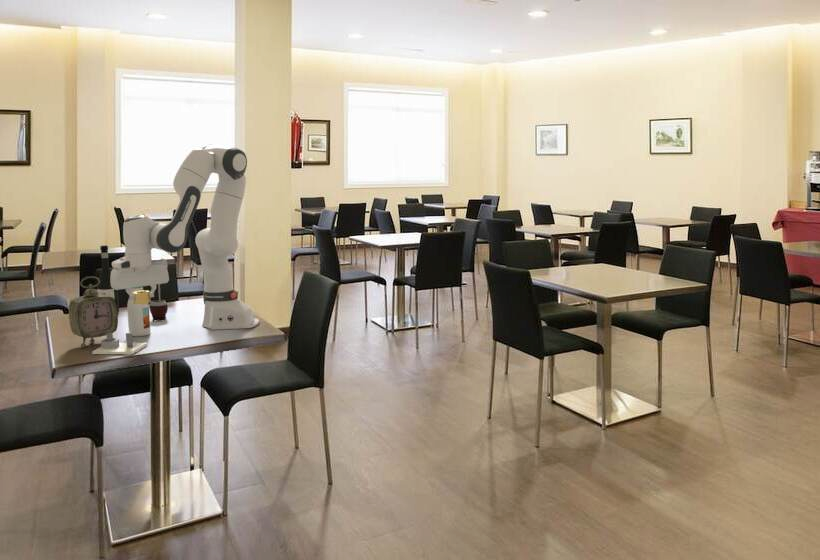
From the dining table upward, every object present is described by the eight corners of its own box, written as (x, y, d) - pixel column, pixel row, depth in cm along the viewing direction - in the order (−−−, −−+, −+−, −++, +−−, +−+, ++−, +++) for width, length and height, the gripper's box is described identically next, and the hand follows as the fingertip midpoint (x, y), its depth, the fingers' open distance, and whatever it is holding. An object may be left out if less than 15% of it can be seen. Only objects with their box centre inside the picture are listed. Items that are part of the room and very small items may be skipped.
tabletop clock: (80, 350, 247) (74, 280, 243) (69, 345, 253) (63, 277, 249) (120, 342, 258) (114, 275, 254) (108, 338, 264) (103, 272, 260)
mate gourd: (156, 322, 290) (154, 286, 287) (146, 319, 294) (143, 284, 292) (172, 319, 296) (170, 284, 293) (161, 316, 300) (159, 282, 298)
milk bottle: (137, 337, 264) (134, 285, 261) (124, 335, 268) (120, 283, 265) (155, 333, 270) (151, 282, 267) (142, 331, 275) (138, 280, 271)
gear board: (147, 346, 252) (145, 329, 251) (132, 355, 240) (131, 337, 239) (109, 345, 253) (107, 329, 252) (92, 354, 241) (91, 337, 240)
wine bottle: (114, 315, 303) (109, 246, 298) (96, 315, 303) (90, 246, 298) (122, 311, 311) (117, 244, 306) (104, 311, 311) (99, 244, 306)
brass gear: (146, 300, 259) (146, 290, 258) (152, 302, 255) (151, 291, 254) (132, 302, 255) (131, 292, 254) (137, 305, 251) (136, 294, 250)
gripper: (163, 256, 261) (166, 293, 264) (106, 263, 248) (110, 301, 250) (170, 258, 257) (173, 295, 259) (113, 265, 243) (116, 303, 246)
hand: (142, 298), depth 255 cm, fingers closed on brass gear, 5 cm apart
